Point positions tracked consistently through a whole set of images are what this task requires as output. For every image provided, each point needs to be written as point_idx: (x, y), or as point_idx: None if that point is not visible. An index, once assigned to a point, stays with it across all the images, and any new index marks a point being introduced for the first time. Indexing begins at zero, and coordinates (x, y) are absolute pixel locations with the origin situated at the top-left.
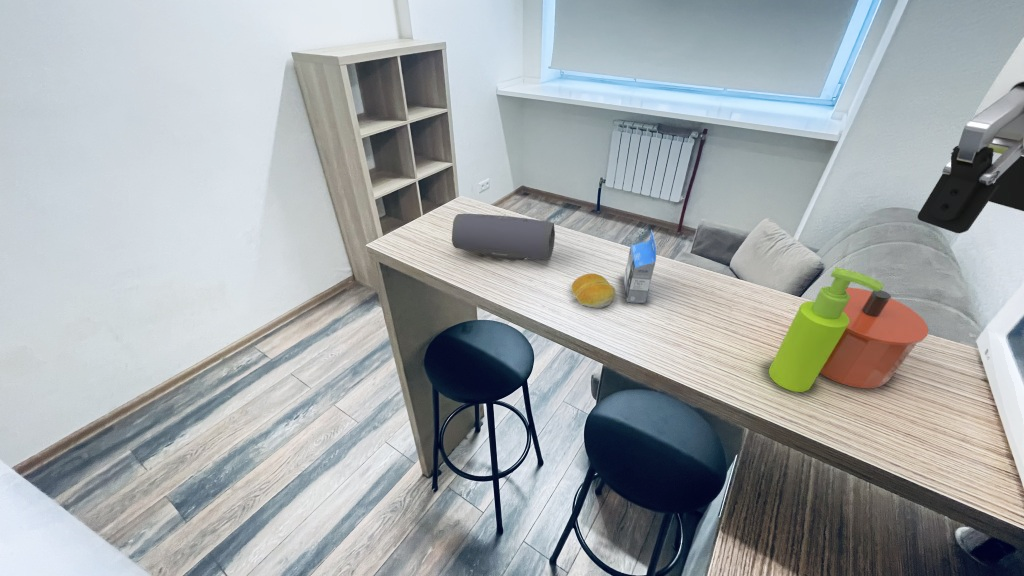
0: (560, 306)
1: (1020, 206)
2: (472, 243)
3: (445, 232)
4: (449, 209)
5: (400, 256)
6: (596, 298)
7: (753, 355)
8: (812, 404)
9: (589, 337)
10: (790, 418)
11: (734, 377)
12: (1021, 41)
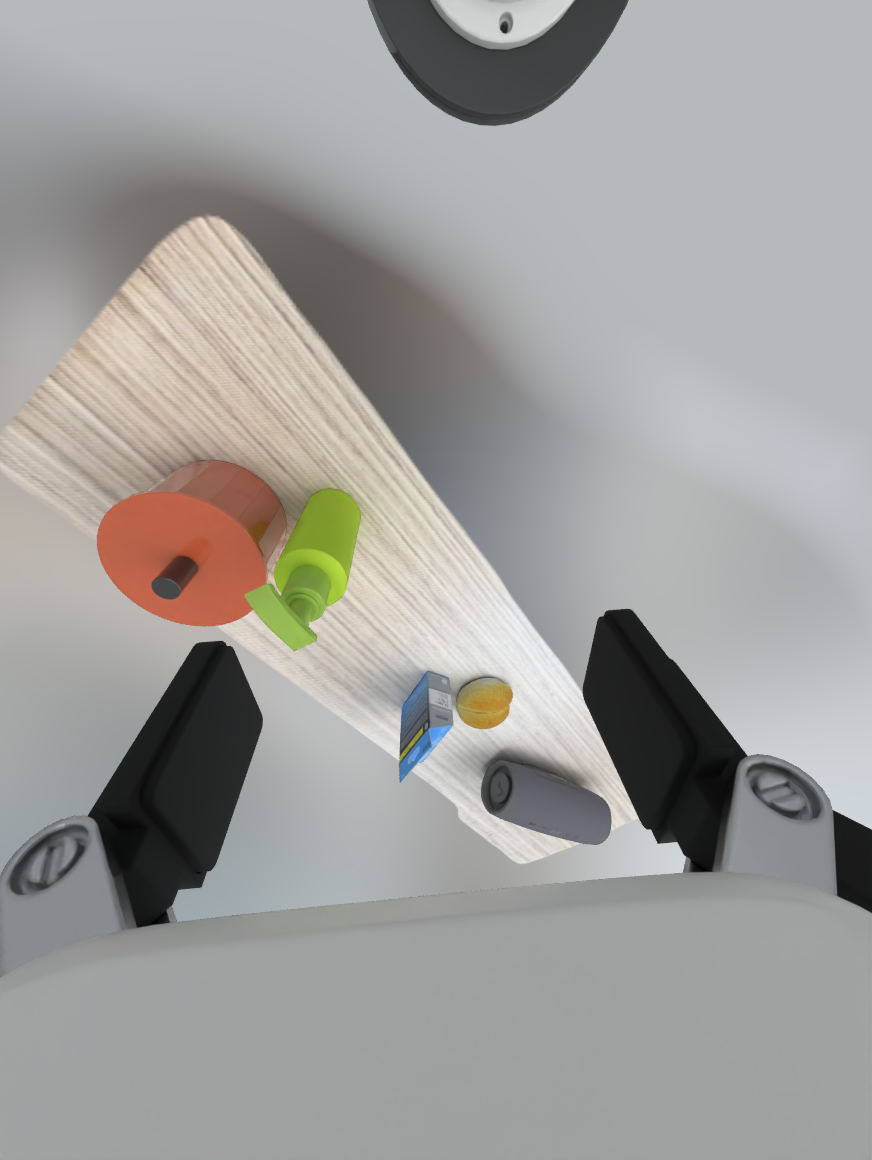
0: (533, 690)
1: (235, 665)
2: (590, 798)
3: None
4: (548, 852)
5: None
6: (498, 690)
7: None
8: (339, 467)
9: (535, 640)
10: (389, 459)
11: (408, 537)
12: None
